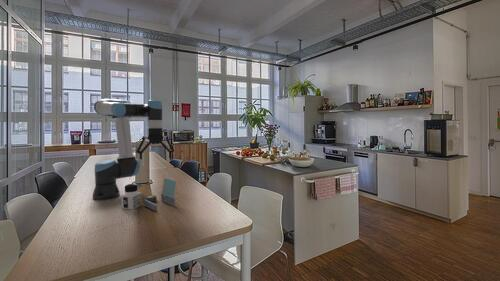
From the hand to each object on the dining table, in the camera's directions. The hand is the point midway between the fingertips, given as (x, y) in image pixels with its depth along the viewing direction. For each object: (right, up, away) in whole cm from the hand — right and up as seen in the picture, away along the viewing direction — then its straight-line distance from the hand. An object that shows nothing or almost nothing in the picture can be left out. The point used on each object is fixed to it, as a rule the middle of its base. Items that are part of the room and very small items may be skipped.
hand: (156, 164), depth 140 cm
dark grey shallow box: (+1, -24, +2) cm, 24 cm away
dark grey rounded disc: (-7, -24, +9) cm, 26 cm away
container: (-14, -25, 0) cm, 28 cm away
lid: (+5, -15, +6) cm, 17 cm away
